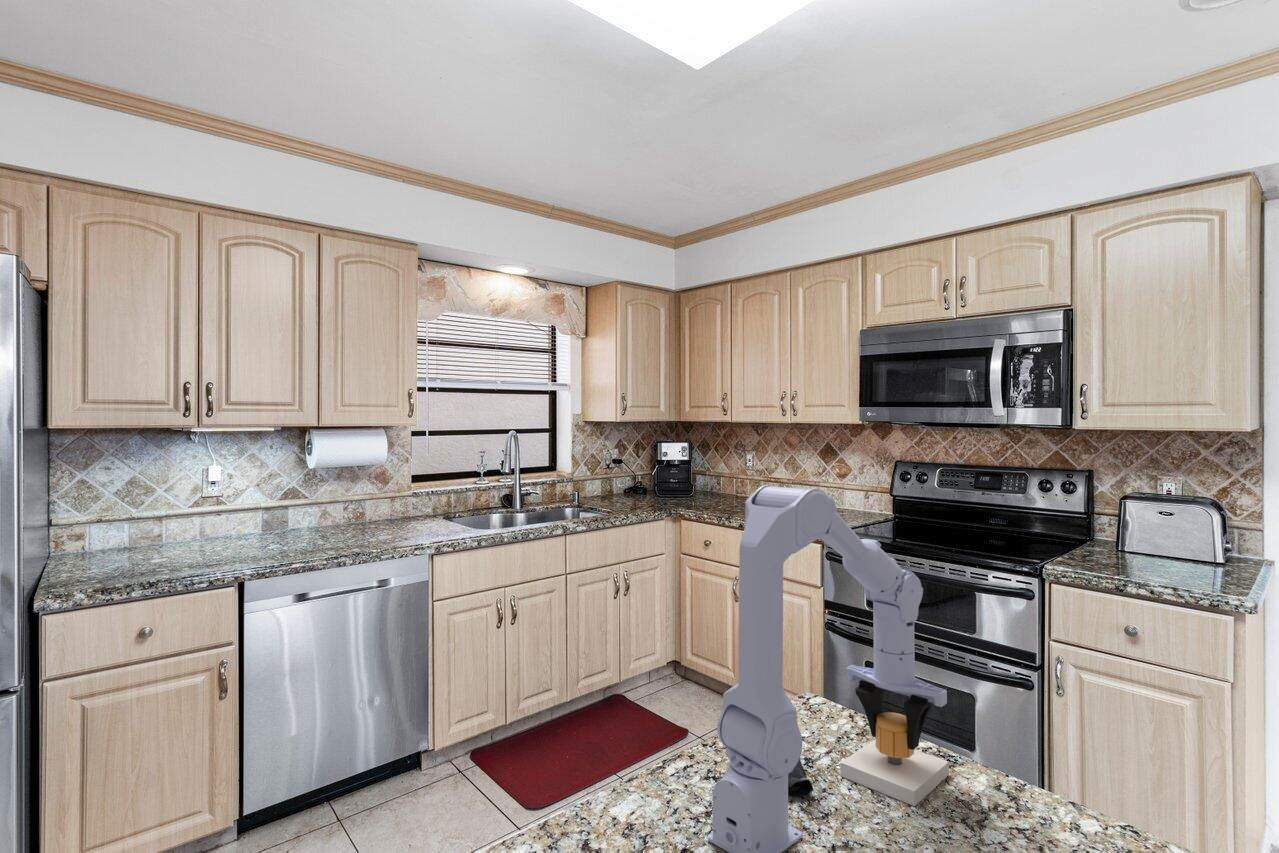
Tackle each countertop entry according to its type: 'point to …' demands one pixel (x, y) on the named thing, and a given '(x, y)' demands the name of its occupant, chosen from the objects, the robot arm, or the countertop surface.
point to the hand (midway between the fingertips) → (894, 740)
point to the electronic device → (799, 780)
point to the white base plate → (895, 773)
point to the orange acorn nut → (892, 735)
